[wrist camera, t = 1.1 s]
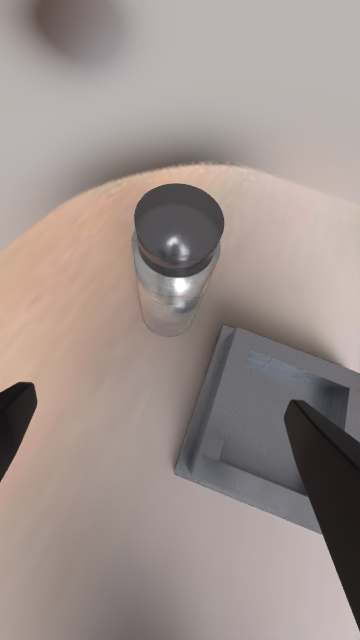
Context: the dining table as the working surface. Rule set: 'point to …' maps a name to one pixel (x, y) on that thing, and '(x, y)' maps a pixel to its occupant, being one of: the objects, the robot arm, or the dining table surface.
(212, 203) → the steel vacuum flask
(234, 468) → the grey tray with handle
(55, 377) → the dining table surface
